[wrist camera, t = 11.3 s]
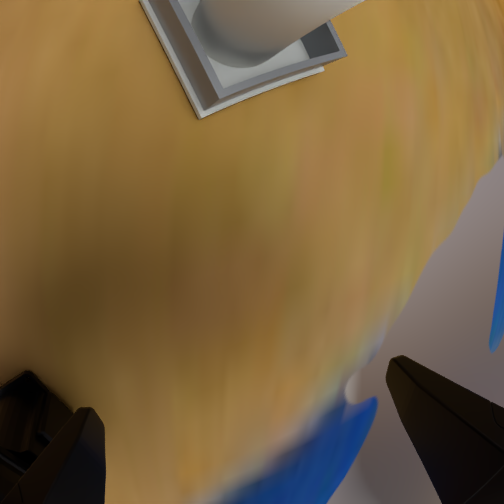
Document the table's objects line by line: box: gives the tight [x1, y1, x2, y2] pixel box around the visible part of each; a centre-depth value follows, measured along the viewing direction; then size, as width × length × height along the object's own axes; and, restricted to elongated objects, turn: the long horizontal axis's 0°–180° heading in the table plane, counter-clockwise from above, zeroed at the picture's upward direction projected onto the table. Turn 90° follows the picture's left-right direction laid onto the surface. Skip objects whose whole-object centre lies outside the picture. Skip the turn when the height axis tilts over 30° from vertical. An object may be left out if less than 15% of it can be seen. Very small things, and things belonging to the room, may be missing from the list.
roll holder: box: [139, 0, 347, 120], centre depth 14 cm, size 9×9×4 cm
